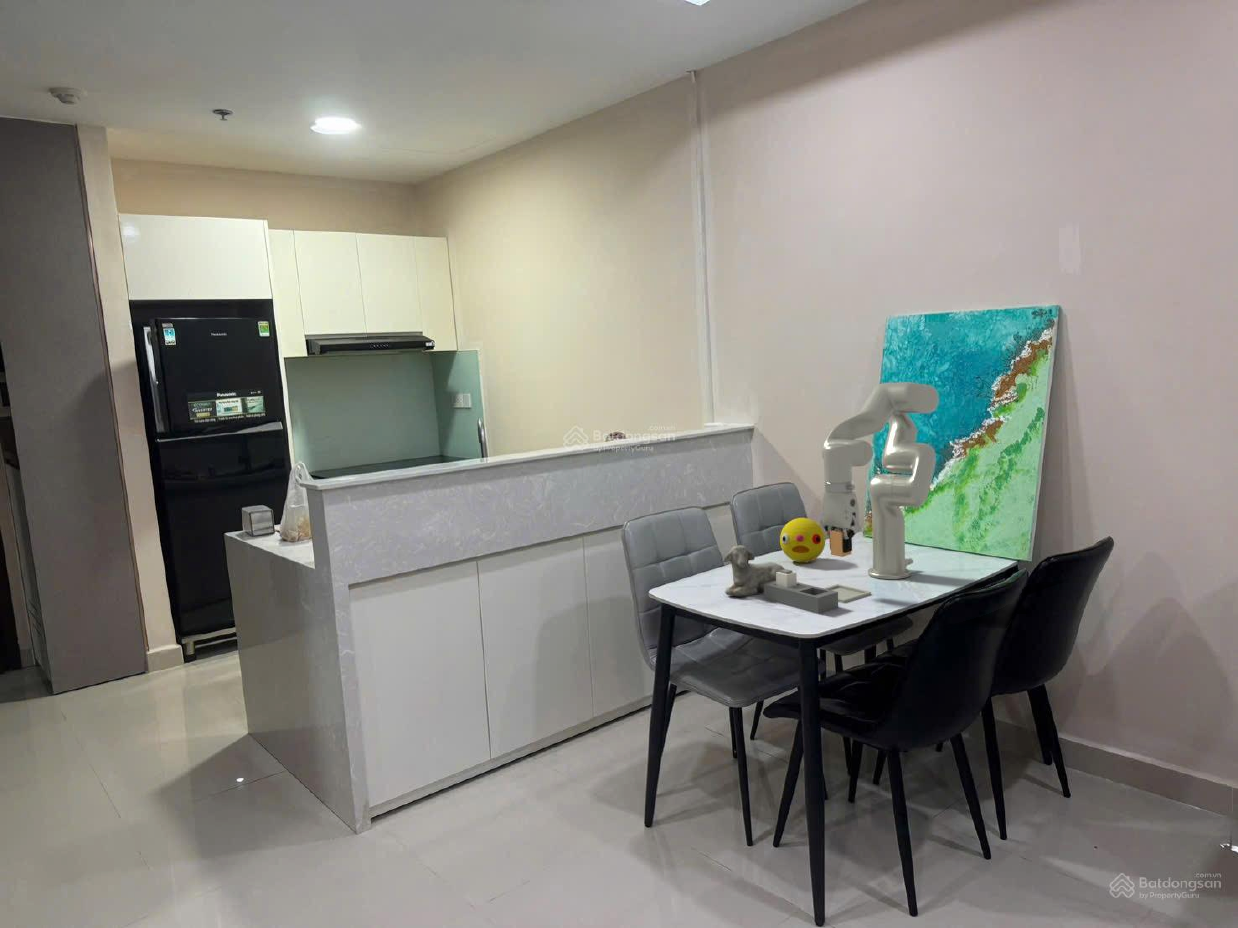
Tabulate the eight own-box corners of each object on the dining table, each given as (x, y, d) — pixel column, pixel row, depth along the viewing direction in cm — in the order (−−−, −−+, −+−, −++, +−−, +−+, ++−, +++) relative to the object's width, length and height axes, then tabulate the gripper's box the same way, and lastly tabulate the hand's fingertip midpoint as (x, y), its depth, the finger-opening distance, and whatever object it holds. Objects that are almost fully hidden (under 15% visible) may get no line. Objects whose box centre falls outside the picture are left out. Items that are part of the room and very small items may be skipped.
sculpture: (720, 595, 242) (718, 546, 240) (772, 582, 254) (770, 535, 252) (745, 603, 233) (743, 551, 231) (797, 589, 245) (796, 540, 243)
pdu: (783, 595, 239) (782, 564, 238) (838, 609, 222) (837, 577, 221) (764, 601, 234) (763, 569, 233) (818, 616, 218) (817, 582, 217)
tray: (837, 588, 243) (837, 584, 243) (871, 596, 233) (871, 591, 233) (810, 596, 236) (810, 592, 236) (843, 605, 226) (843, 600, 226)
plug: (840, 551, 237) (839, 526, 236) (851, 554, 233) (850, 528, 232) (830, 554, 234) (829, 528, 233) (842, 556, 231) (841, 530, 230)
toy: (777, 567, 271) (775, 523, 269) (783, 556, 286) (782, 513, 285) (823, 569, 266) (822, 523, 264) (827, 557, 282) (826, 514, 280)
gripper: (871, 488, 227) (873, 552, 229) (824, 482, 240) (826, 543, 243) (853, 492, 222) (856, 558, 225) (806, 486, 236) (809, 548, 238)
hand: (841, 549), depth 234 cm, fingers closed on plug, 4 cm apart
